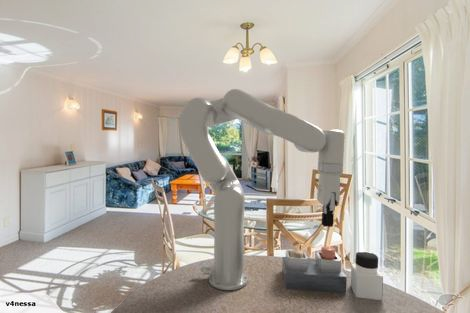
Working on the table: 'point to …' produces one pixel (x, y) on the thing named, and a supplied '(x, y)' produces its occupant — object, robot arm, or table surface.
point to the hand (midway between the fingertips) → (327, 225)
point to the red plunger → (327, 253)
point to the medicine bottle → (366, 276)
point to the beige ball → (296, 253)
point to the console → (313, 273)
